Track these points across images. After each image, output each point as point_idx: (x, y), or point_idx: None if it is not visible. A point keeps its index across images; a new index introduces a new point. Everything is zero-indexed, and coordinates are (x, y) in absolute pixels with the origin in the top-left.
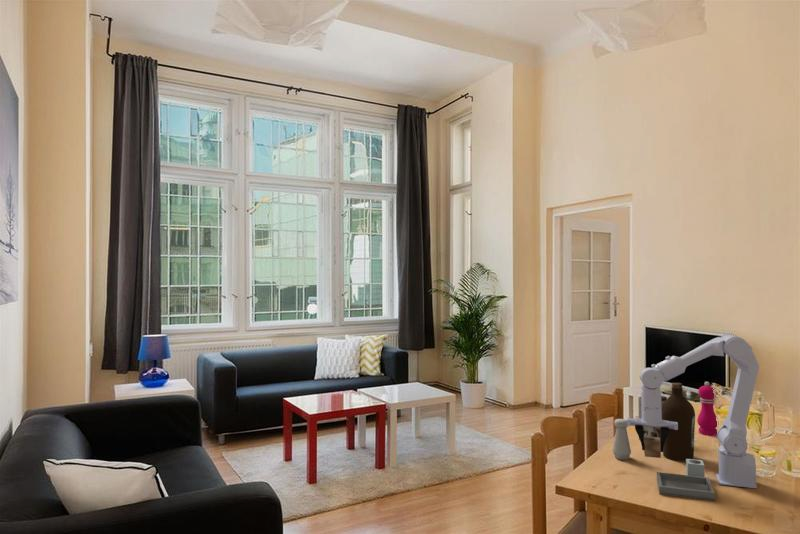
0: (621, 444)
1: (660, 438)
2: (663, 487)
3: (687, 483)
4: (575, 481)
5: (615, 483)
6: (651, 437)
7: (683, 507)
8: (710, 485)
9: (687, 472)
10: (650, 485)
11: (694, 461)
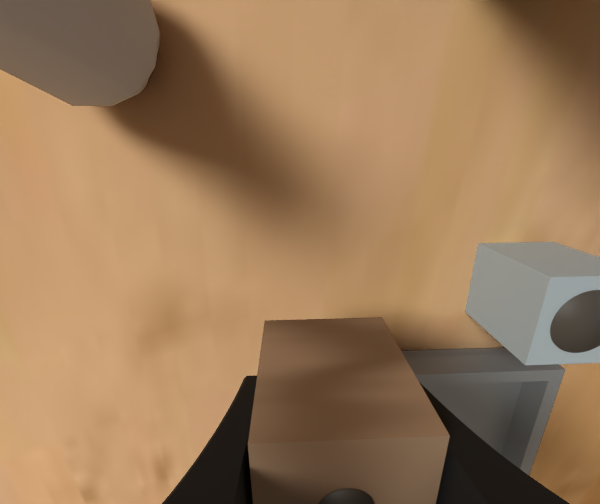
0: (31, 72)
1: (450, 497)
2: None
3: (448, 385)
4: (6, 477)
5: (160, 447)
6: (344, 460)
7: None
8: (532, 449)
9: (487, 314)
10: None
11: (585, 320)
